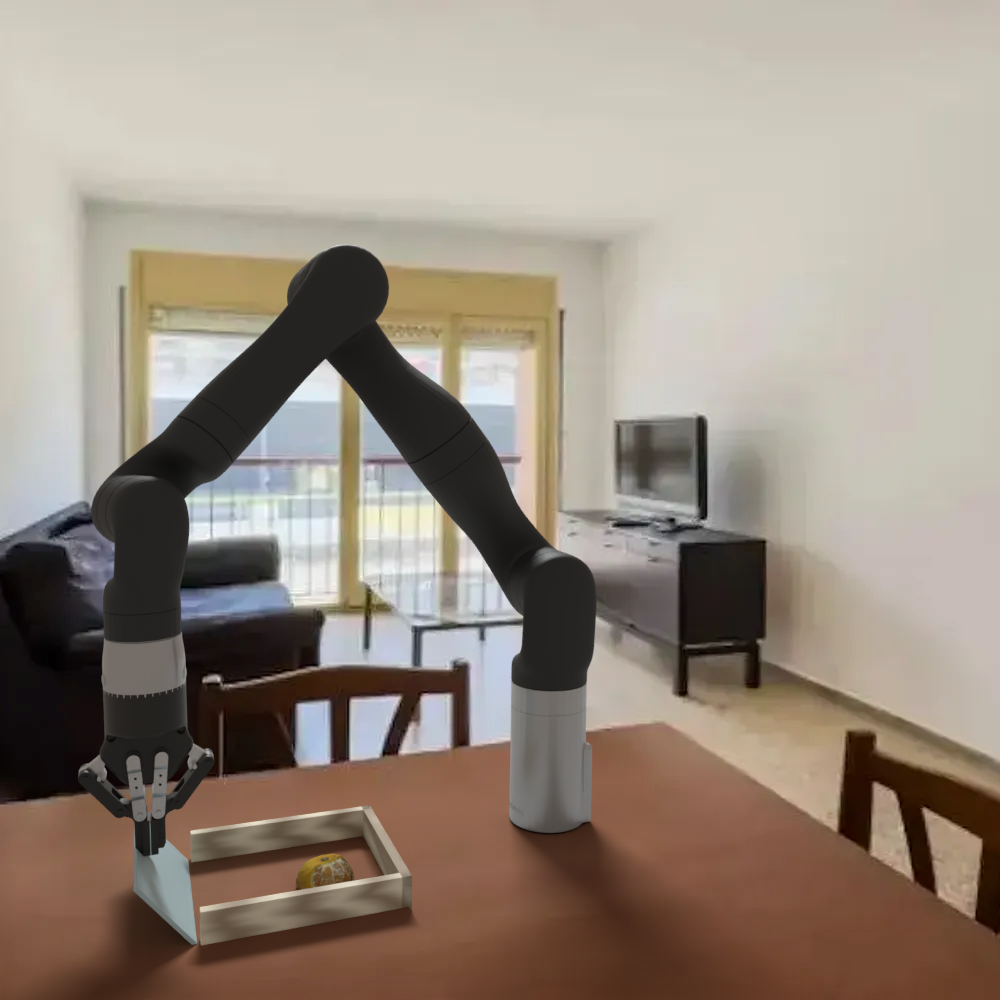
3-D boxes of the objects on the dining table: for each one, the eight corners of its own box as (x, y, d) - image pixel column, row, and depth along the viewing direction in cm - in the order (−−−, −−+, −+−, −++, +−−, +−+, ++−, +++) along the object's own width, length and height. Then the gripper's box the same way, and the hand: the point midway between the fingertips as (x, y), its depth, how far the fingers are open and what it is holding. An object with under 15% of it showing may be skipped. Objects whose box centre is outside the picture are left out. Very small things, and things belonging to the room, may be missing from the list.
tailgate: (188, 860, 100) (137, 811, 98) (197, 943, 84) (137, 887, 82) (185, 862, 100) (134, 814, 98) (193, 946, 84) (133, 890, 82)
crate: (369, 834, 108) (369, 805, 108) (411, 909, 91) (411, 875, 91) (190, 861, 101) (190, 830, 100) (200, 949, 84) (200, 912, 84)
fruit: (326, 927, 88) (326, 891, 88) (274, 898, 94) (274, 863, 93) (389, 895, 95) (389, 860, 94) (337, 869, 100) (337, 836, 100)
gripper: (213, 664, 95) (217, 825, 96) (72, 677, 90) (79, 847, 91) (219, 683, 88) (223, 857, 89) (66, 698, 83) (74, 882, 84)
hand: (150, 852), depth 90 cm, fingers closed
